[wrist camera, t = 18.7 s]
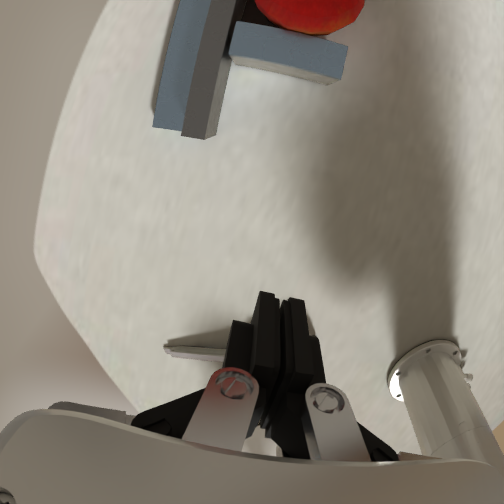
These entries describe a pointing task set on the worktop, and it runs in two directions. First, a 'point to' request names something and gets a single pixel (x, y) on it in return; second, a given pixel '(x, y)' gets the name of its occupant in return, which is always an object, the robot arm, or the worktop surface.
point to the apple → (311, 14)
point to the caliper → (197, 353)
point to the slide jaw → (287, 53)
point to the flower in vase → (259, 443)
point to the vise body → (197, 67)
